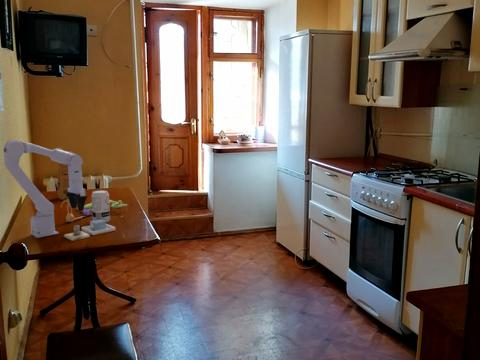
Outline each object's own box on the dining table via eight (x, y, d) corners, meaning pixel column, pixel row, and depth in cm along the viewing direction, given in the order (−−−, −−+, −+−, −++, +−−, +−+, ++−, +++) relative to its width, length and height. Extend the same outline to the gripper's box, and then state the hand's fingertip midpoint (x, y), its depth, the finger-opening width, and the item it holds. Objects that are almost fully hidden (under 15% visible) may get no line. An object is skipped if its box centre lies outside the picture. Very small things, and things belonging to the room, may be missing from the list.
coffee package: (57, 197, 284) (54, 162, 280) (78, 195, 289) (76, 160, 285) (58, 200, 275) (56, 164, 271) (80, 198, 280) (78, 162, 277)
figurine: (61, 223, 222) (59, 199, 220) (62, 220, 228) (60, 196, 226) (79, 222, 225) (77, 198, 223) (79, 219, 230) (78, 195, 228)
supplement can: (92, 220, 228) (90, 190, 226) (109, 218, 231) (108, 189, 228) (93, 224, 221) (91, 193, 218) (110, 222, 223) (109, 192, 221)
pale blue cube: (106, 229, 210) (105, 221, 209) (94, 232, 206) (93, 223, 205) (100, 227, 213) (100, 219, 213) (89, 229, 210) (88, 221, 209)
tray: (92, 235, 202) (92, 231, 202) (81, 230, 210) (81, 227, 210) (115, 230, 210) (115, 227, 210) (104, 225, 218) (103, 222, 217)
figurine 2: (127, 213, 243) (127, 203, 242) (74, 217, 236) (74, 206, 235) (127, 206, 260) (126, 196, 259) (77, 209, 254) (77, 199, 253)
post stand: (72, 240, 194) (71, 229, 194) (64, 236, 200) (63, 225, 199) (89, 237, 200) (89, 225, 199) (82, 233, 206) (81, 222, 205)
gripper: (91, 181, 206) (92, 210, 209) (77, 177, 217) (78, 205, 219) (75, 183, 202) (77, 213, 204) (62, 179, 212) (64, 207, 214)
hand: (77, 209), depth 211 cm, fingers open, 7 cm apart
